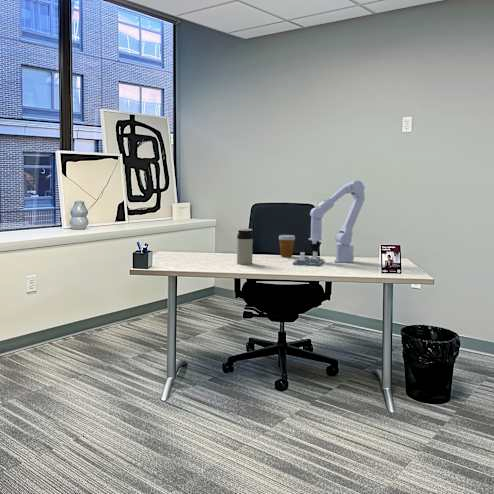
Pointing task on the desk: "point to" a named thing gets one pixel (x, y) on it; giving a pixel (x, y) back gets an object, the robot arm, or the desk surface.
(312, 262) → the switch bank
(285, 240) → the disposable coffee cup
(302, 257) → the tab
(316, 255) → the tab
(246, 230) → the travel mug
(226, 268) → the desk surface
